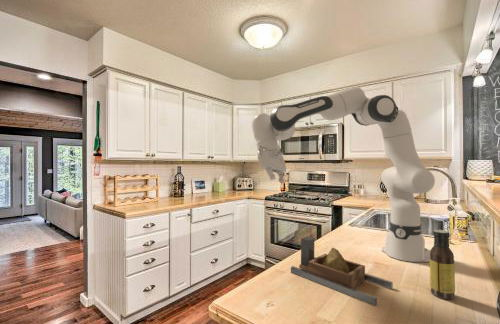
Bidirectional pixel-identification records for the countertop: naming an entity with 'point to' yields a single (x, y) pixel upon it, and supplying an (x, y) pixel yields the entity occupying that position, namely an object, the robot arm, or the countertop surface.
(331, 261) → the rock
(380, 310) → the countertop surface
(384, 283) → the rails
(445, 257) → the sauce bottle
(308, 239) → the sled
